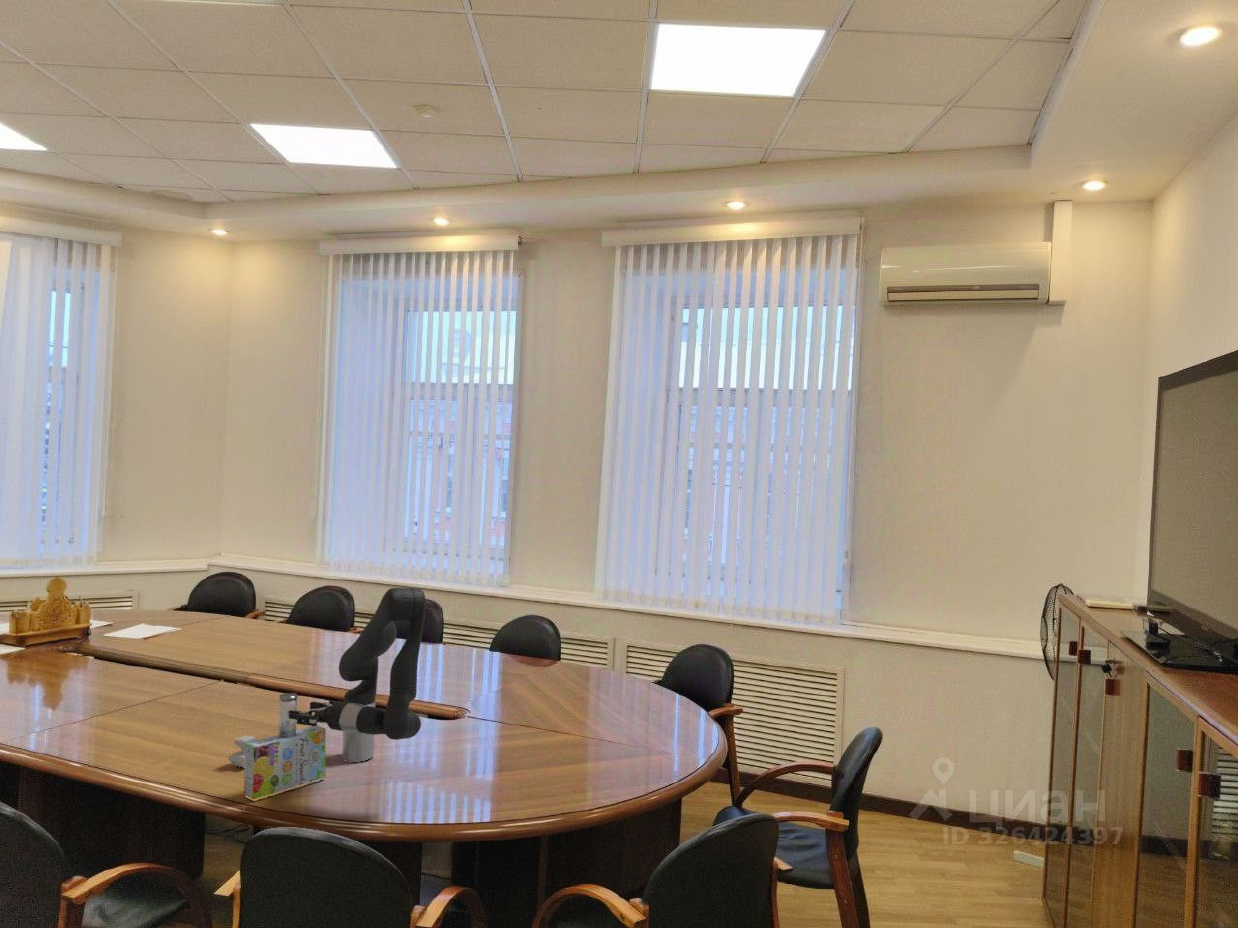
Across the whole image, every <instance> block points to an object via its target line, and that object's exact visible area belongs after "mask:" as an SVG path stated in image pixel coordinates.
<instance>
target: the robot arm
mask: <svg viewBox="0 0 1238 928" xmlns="http://www.w3.org/2000/svg"><path fill="white" fill-rule="evenodd" d="M426 606H427V600H426V595H425V592H424V591H423V590H422V589H421V588H415V587H412V588H411V587H391V588H389V589H387V591H386V592H385V593H384V594H383V596H382V598H381V600H380V602H379V604H378V607H377V609H376V610H375V613H374V615H373V616H372V617H371V618H370V620H369V622H367V624H366V625H365V626H364V628H363V629H362V632H361V633H360V635H359V636H358V637H357V638H356V640H355V641H354V642H353V643H352V645H351V646H349V647H348V648H347V649H346V650H345V651H344V653H343V654H342V656H341V657H340V660H339V664H338V671H339V672H338V673H339V676H340V678H341V679H342V680H343V681H345V682H357V681H360V683H359V684H358V685H357V686H355V687H353V688H352V689H349V690H348V691H347V692H346V693H344V695H343V701H342V700H337V701H336V700H329V701H324V702H319V701H311V702H310V703H309V710H306V711H303V710H297V711H296V710H290V711H289V719H295V720H296V725H301V726H302V725H303V726H308V727H310V726H317V725H318V724H319V723H320V724H327V726H328V727H329V729H331V730H334V731H341V732H342V756H341V757H342V758H343V759H344V760H346V761H350V762H349V763H352V762H357V763H360V762H359V761H364V762H366V761H365V760H368V759H370V758H372V757H373V755H374V754H375V752H374V750H375V736H376V735H378V736H379V735H385V736H386V737H387V738H388V739H390V740H395V741H396V740H405V739H411V738H413V737H414V736H416V735H417V734H418V733H419V731H420V730H421V728H422V727H421V725H422V721H421V719H420V716H419V715H418V714H417V713H416V712H413V711H412V710H409V707H410V703H411V702H412V701H414V700H415V699H416V697H417V690H418V689H417V687H418V664H419V657H420V656H419V655H420V649H421V643H422V639H423V638H422V636H423V630H424V623H425V617H426V616H425V615H426V608H427V607H426ZM396 622H397V623H409V630H408V634H407V636H406V639H405V641H404V643H403V645H402V647H401V649H400V650H399V651H398V653H397V655H396V656H395V658H394V660H393V662H392V664H391V666H390V667H391V668H390V674H389V696H388V698H387V699H388V700H387V702H386V706H385V708H382V707H376V694H377V689H378V688H377V687H378V686H377V685H378V675H379V674H378V673H379V657H380V656H382V655H384V654H385V653H386V652H387V651H388V650H389V649H390V648H391V646H392V645H393V644H394V643H395V641H396V639H397V635H398V633H397V632H398V631H397V628H396V625H395V623H396ZM373 758H374V757H373ZM373 758H372V759H373ZM343 759H342V760H343ZM344 760H343V761H344ZM370 760H371V759H370ZM346 761H345V762H346ZM368 761H369V760H368Z"/></svg>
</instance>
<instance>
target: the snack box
mask: <svg viewBox="0 0 1238 928" xmlns="http://www.w3.org/2000/svg"><path fill="white" fill-rule="evenodd" d="M326 737H327V732H326V728H325V727H323V726H320V725H318V724H317V726H307V727H304V728H300V729H296V735H295V736H293V737H288V738H282V737H279V734H275V735H272V736H269V737H264V738H261V739H260V738H259V739H256V741H252V742H248V743H245V768H244V782H243V784H244V785H243V786H244V789H243V790H244V793H243V794H244V795H245V796H248V797H250V798H252V799H256V798H259V797H262V796H266V795H269V794H273V793H276V792H279V791H282V790H286V789H288V788H292V787H295V786H297V785H301V784H304V783H308V782H312V781H315V780H319V779H323V778H325V779H326V745H327V743H326V742H327V741H326V739H327V738H326ZM244 795H243V796H244Z"/></svg>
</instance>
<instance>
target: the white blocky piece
mask: <svg viewBox="0 0 1238 928" xmlns="http://www.w3.org/2000/svg"><path fill="white" fill-rule="evenodd" d="M256 740H257V736H256V737H255V736H251V735H243V736H241V737H238V738H236V739H234V744H235V745H236V747H238V748H240V750H239V751H237V752H234V753H231V754H229V755H228V760H229V762H230V764H232V765H233V766H234V765H235V766H234V767H237V766H239V767H238V768H240V767H245V743H248V742H252V741H256Z"/></svg>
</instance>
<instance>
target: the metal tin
mask: <svg viewBox="0 0 1238 928" xmlns="http://www.w3.org/2000/svg"><path fill="white" fill-rule="evenodd" d="M278 707H279V708H278V709H279V710H278V711H279V712H278V714H279V715H278V735H279V737H282V738H288V737H293V736H295V735H296V730H297V720H295V719H289V711H290V710H296V711H298V709H297V708H298V694H297V693H293V692H287V693H282V694H280V695H279V706H278Z"/></svg>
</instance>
